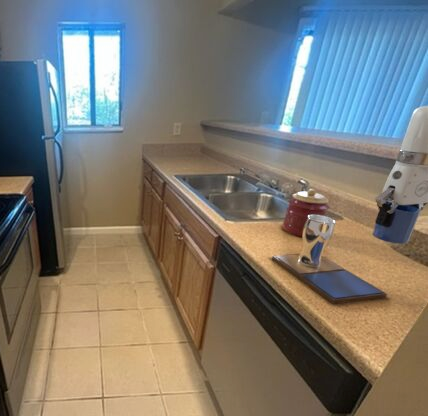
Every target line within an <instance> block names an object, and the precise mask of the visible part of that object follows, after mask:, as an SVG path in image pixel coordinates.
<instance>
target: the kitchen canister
mask: <svg viewBox="0 0 428 416" xmlns="http://www.w3.org/2000/svg"><path fill="white" fill-rule="evenodd" d="M329 201H330V200H329V198H327V197H326V196H325V195H323V194H321V193H317V191H316V189H314V188H310V189H308V190H307V191H298V192H296V193H293V194H292V196H291V198H290V199H289V198H288V206H287V207H286V211H285V215H284V220H283V222H282V229H283V230H284V231H285V232H287V233H288V234H291V235H293V236H296V237H301V238H302V235H303V229H304V226H305V223H306V221H307V218H308V216H309V215H323V216H327V217H328V214H327V212H328V210H329V209H330V208H331V207H330V205H329V204H328V203H329Z"/></svg>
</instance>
